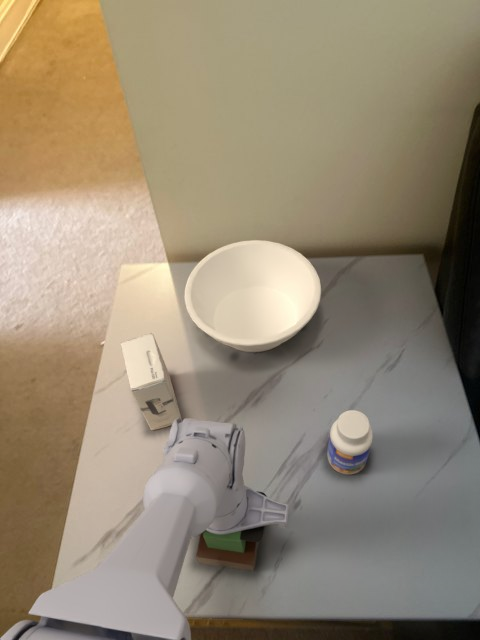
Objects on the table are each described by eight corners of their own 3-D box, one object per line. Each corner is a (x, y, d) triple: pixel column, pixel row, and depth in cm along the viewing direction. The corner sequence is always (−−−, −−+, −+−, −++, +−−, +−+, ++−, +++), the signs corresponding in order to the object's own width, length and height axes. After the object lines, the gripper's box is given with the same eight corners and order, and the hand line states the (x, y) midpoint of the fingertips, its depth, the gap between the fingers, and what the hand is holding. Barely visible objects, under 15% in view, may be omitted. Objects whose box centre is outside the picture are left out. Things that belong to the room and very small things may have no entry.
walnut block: (254, 571, 69) (253, 565, 67) (199, 563, 70) (195, 556, 68) (262, 515, 73) (261, 507, 71) (209, 508, 74) (207, 500, 72)
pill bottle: (329, 476, 76) (334, 446, 68) (324, 439, 79) (328, 406, 71) (370, 474, 76) (379, 443, 68) (363, 437, 79) (371, 403, 71)
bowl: (305, 386, 85) (306, 356, 78) (174, 361, 89) (165, 330, 83) (329, 282, 97) (331, 249, 90) (212, 265, 101) (207, 231, 95)
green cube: (244, 553, 68) (241, 542, 64) (207, 547, 69) (203, 536, 65) (249, 515, 70) (247, 503, 67) (214, 510, 71) (210, 498, 68)
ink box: (138, 384, 87) (119, 340, 77) (169, 375, 88) (154, 330, 78) (149, 433, 82) (130, 392, 72) (182, 422, 82) (168, 380, 73)
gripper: (291, 461, 59) (291, 505, 70) (159, 445, 62) (178, 490, 72) (283, 529, 55) (285, 564, 66) (142, 509, 58) (165, 547, 68)
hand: (228, 530), depth 69 cm, fingers closed on green cube, 4 cm apart
